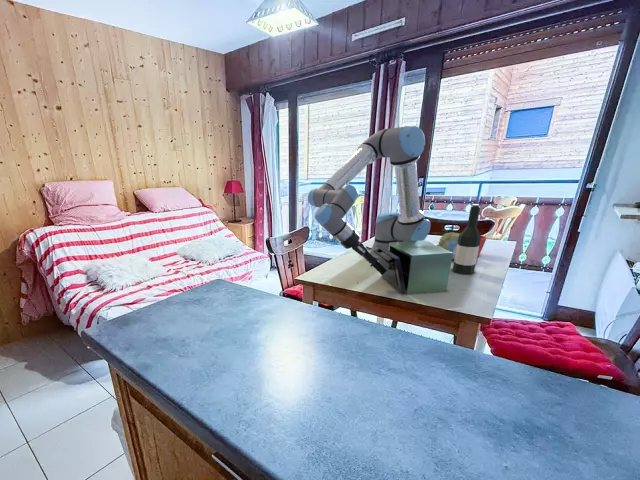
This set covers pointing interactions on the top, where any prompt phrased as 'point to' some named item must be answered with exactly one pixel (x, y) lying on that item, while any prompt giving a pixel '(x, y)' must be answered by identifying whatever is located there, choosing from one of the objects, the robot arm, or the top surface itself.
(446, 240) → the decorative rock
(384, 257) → the oven door
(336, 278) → the top surface
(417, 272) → the oven
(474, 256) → the wine bottle
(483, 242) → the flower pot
